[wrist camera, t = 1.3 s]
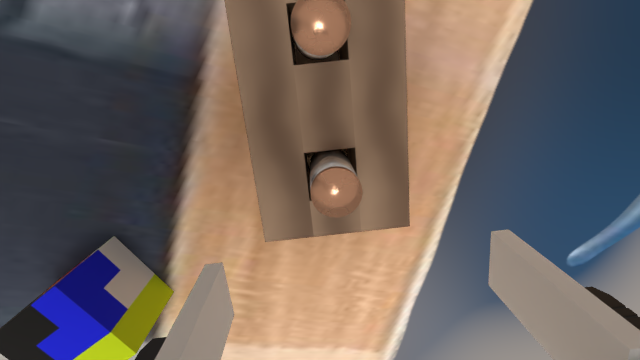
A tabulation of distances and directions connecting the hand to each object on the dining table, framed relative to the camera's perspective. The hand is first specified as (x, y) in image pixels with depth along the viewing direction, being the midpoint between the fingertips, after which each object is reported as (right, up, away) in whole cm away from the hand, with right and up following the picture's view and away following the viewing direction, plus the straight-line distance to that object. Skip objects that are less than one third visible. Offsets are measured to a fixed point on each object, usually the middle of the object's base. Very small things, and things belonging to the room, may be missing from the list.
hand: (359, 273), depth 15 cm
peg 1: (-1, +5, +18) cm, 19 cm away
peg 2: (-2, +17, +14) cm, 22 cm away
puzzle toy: (-27, -9, +28) cm, 40 cm away
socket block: (-2, +13, +21) cm, 25 cm away
